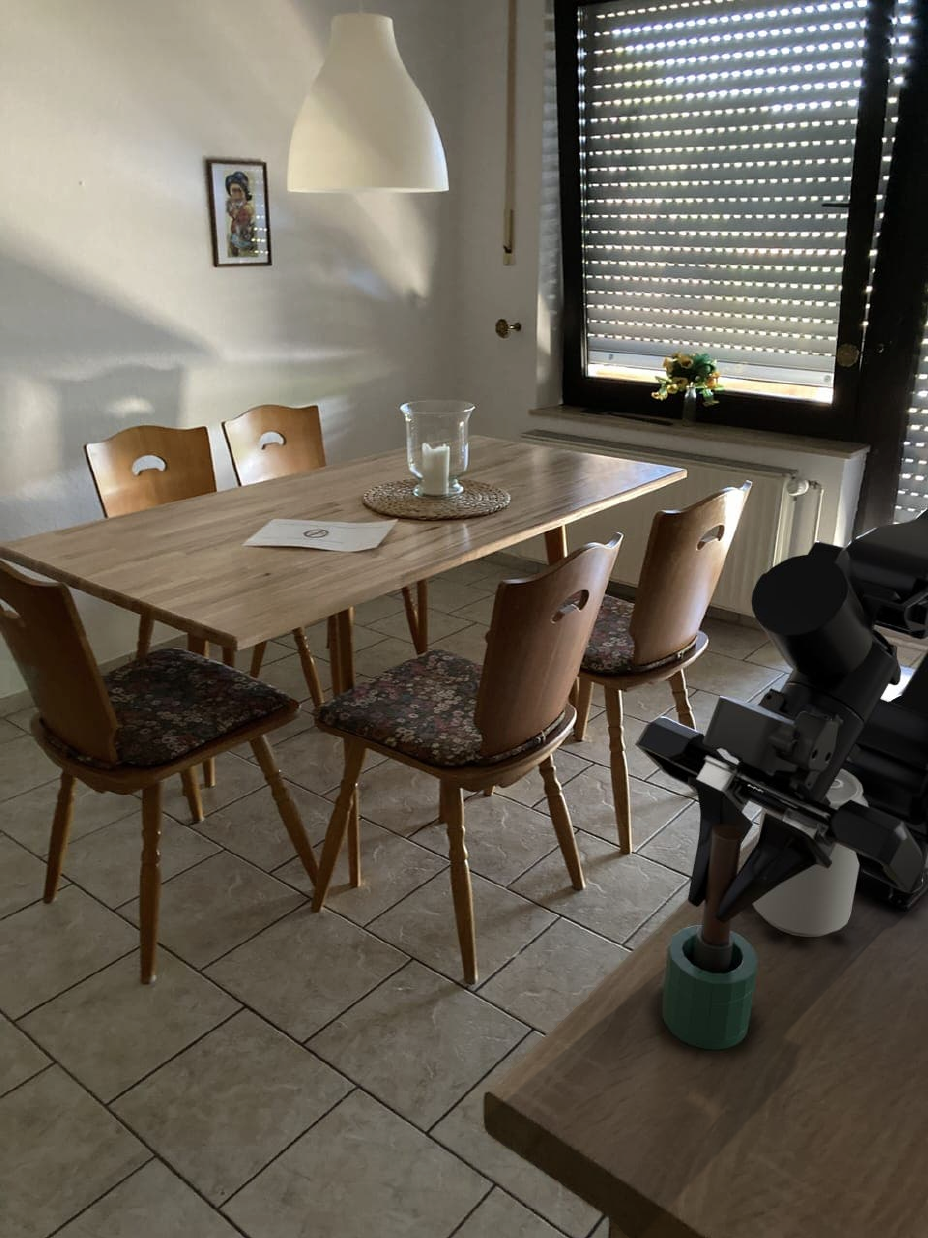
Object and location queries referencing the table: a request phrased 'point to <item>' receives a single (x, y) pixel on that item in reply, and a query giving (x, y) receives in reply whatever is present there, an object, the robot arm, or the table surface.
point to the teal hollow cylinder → (708, 994)
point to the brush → (718, 902)
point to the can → (817, 880)
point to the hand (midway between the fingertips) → (705, 912)
